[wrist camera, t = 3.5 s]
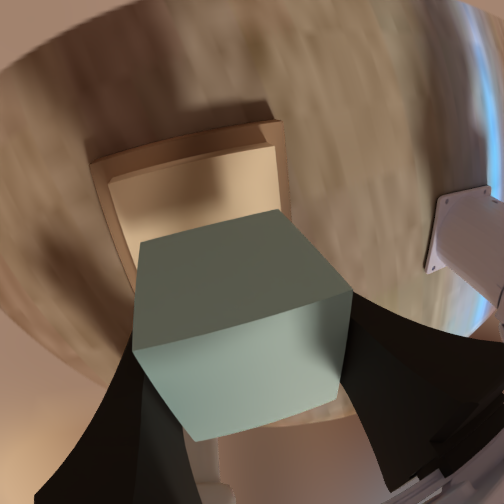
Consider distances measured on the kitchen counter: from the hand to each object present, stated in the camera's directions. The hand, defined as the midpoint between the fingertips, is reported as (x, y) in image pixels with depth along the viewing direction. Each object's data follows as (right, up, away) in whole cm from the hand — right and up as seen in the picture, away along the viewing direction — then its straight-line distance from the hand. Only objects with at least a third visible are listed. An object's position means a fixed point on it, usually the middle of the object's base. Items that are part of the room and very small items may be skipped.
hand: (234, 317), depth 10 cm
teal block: (-1, +1, +2) cm, 2 cm away
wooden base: (-2, +4, +7) cm, 8 cm away
